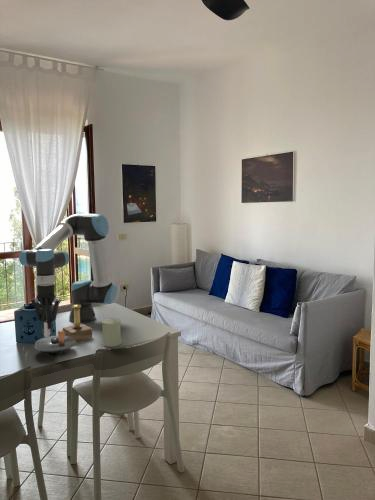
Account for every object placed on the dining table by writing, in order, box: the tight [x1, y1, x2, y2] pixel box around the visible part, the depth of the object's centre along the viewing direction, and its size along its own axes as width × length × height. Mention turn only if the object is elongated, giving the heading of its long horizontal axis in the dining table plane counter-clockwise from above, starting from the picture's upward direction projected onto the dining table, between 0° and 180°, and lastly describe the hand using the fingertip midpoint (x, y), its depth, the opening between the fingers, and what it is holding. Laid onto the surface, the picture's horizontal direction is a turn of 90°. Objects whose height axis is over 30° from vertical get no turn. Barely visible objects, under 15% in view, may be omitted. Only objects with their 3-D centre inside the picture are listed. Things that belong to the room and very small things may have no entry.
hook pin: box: [71, 304, 81, 330], centre depth 210 cm, size 4×4×17 cm
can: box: [101, 318, 122, 348], centre depth 202 cm, size 9×9×12 cm
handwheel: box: [34, 329, 76, 353], centre depth 190 cm, size 18×18×8 cm
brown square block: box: [62, 323, 93, 343], centre depth 211 cm, size 11×11×5 cm
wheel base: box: [48, 351, 63, 355], centre depth 191 cm, size 6×6×3 cm
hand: (47, 335), depth 183 cm, fingers closed
